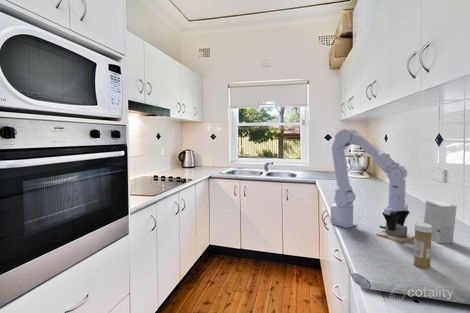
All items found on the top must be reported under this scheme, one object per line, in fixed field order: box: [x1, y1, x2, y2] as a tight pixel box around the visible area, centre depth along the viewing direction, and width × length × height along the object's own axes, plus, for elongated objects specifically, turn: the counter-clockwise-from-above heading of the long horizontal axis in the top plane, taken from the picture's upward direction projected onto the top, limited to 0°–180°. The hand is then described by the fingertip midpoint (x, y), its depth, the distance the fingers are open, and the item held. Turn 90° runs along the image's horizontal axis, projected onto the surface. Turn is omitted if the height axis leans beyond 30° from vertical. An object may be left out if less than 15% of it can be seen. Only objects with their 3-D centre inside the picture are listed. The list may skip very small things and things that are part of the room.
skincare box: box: [423, 199, 457, 244], centre depth 101 cm, size 8×6×15 cm
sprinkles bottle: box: [413, 221, 432, 270], centre depth 82 cm, size 5×5×13 cm
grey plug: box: [379, 221, 408, 238], centre depth 107 cm, size 10×4×4 cm, turn 32°
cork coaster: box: [376, 229, 415, 244], centre depth 106 cm, size 10×10×1 cm
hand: (395, 228), depth 106 cm, fingers open, 6 cm apart
